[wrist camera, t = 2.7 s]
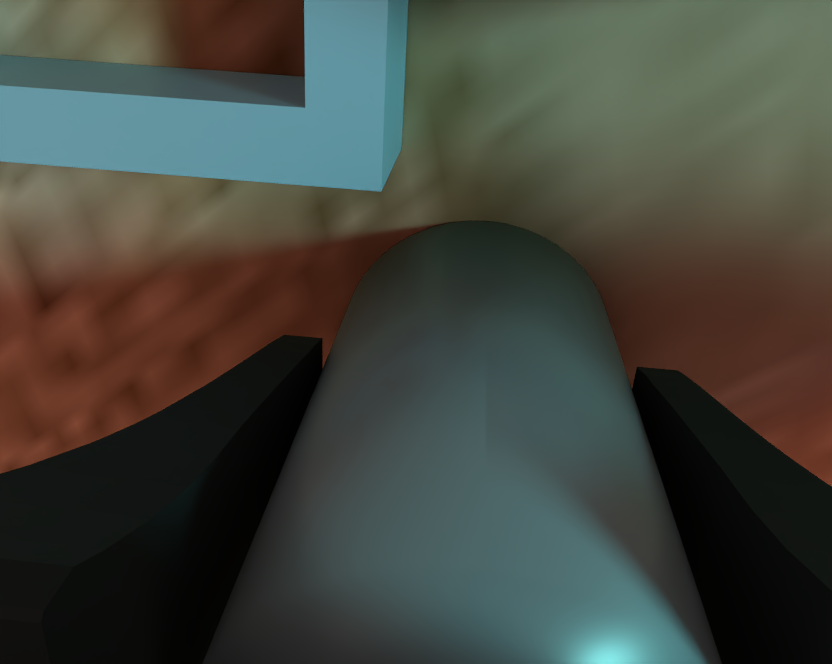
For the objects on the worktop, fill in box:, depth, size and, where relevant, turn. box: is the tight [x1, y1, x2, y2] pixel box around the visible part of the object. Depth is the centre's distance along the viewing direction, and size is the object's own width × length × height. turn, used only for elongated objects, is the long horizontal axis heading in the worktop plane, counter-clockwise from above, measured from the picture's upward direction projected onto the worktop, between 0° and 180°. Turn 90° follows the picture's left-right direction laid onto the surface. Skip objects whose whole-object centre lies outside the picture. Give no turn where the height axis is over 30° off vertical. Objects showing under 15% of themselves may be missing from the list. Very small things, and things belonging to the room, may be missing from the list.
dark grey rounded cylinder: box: [202, 221, 722, 664], centre depth 10 cm, size 5×6×8 cm
